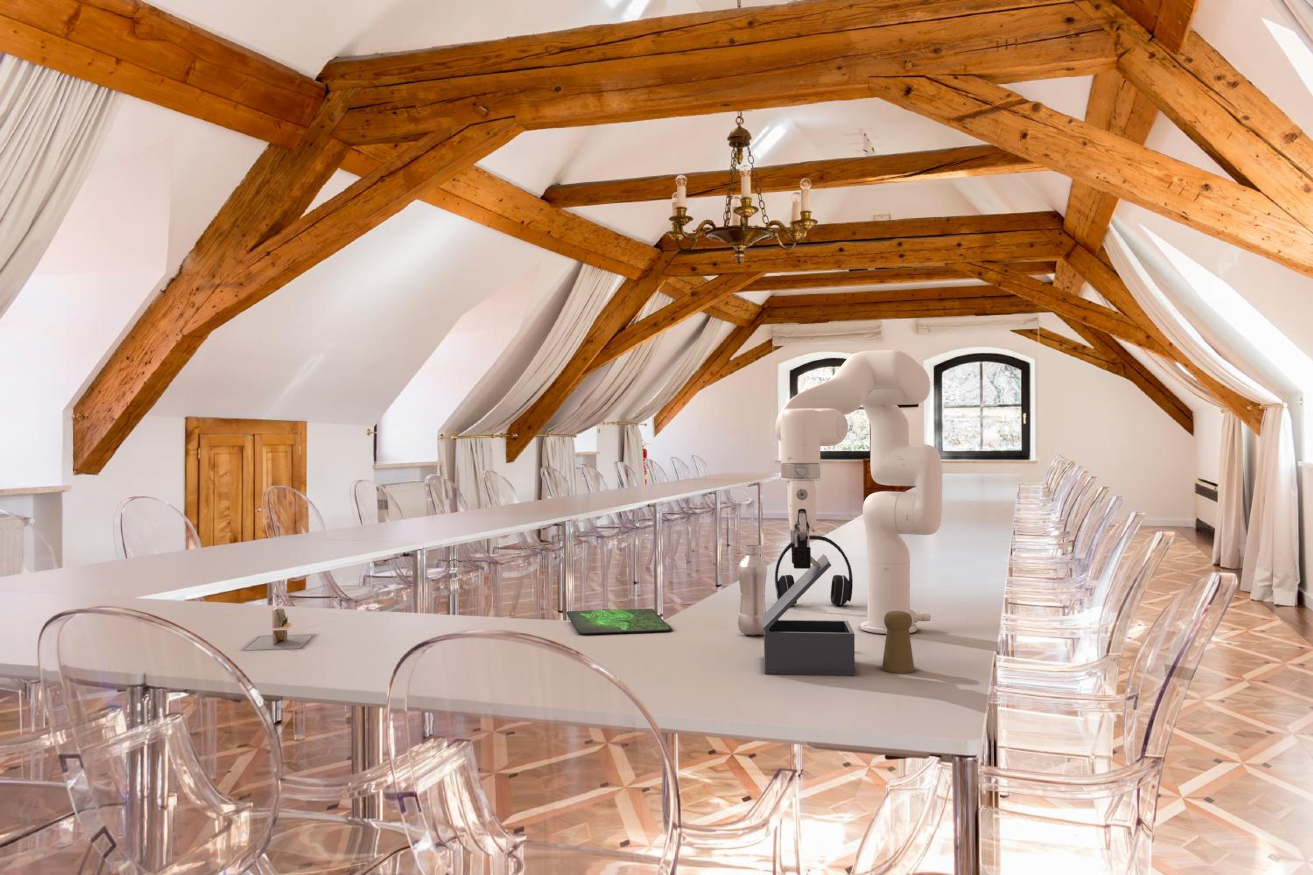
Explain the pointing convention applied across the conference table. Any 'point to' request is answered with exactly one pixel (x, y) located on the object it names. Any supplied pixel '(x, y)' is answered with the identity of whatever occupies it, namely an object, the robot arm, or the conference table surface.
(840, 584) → the headphones
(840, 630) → the dark grey bin
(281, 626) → the architectural model
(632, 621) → the mouse mat
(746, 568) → the plastic bottle
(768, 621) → the box lid with handle
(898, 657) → the cork
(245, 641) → the conference table surface
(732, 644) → the conference table surface
